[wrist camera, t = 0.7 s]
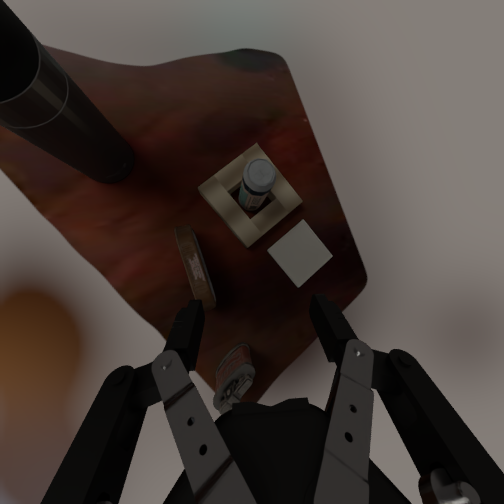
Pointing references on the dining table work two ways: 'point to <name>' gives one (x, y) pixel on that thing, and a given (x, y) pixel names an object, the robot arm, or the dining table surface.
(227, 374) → the lighter
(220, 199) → the socket block
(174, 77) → the dining table surface
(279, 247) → the pad
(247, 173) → the beer can
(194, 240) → the tin
